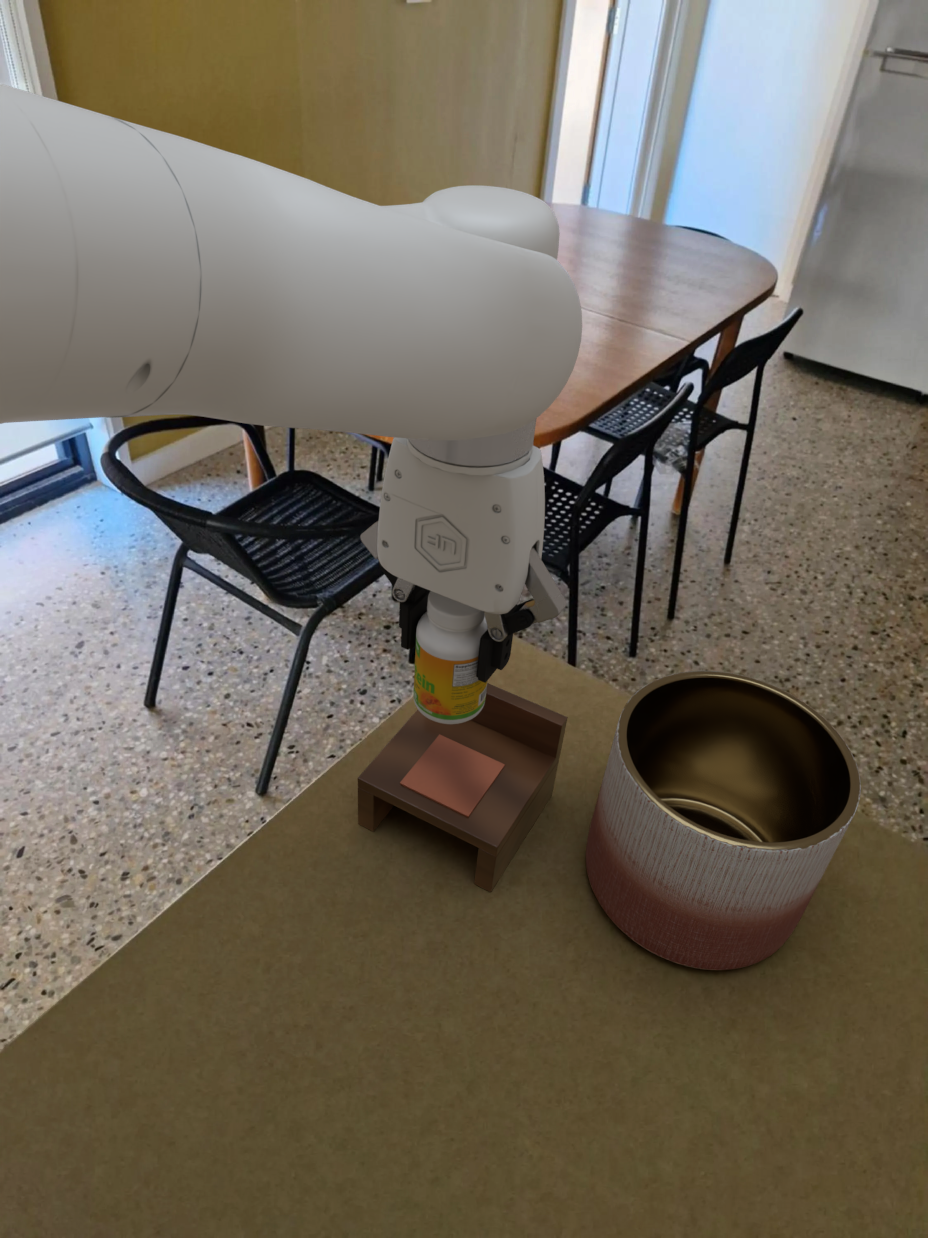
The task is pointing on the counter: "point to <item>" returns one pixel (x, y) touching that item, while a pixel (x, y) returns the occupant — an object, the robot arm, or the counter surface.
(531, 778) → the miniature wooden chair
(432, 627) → the supplement bottle
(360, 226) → the robot arm
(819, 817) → the planter
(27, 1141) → the counter surface
